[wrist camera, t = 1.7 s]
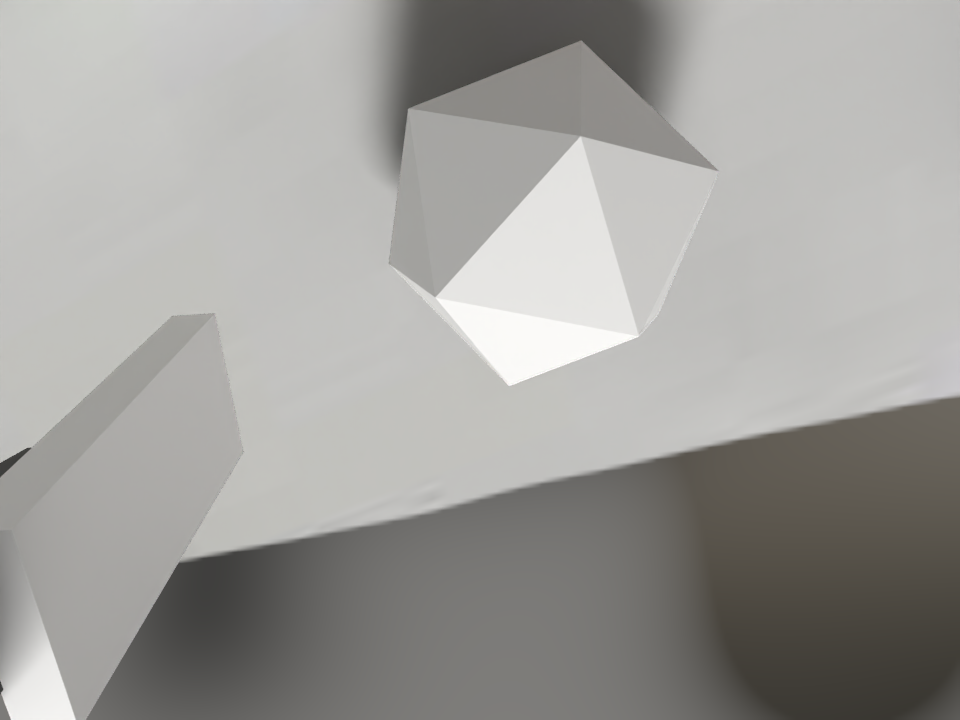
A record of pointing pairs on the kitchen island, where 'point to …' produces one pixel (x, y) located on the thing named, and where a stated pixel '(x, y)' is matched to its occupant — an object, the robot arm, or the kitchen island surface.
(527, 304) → the die
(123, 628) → the robot arm
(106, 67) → the kitchen island surface
